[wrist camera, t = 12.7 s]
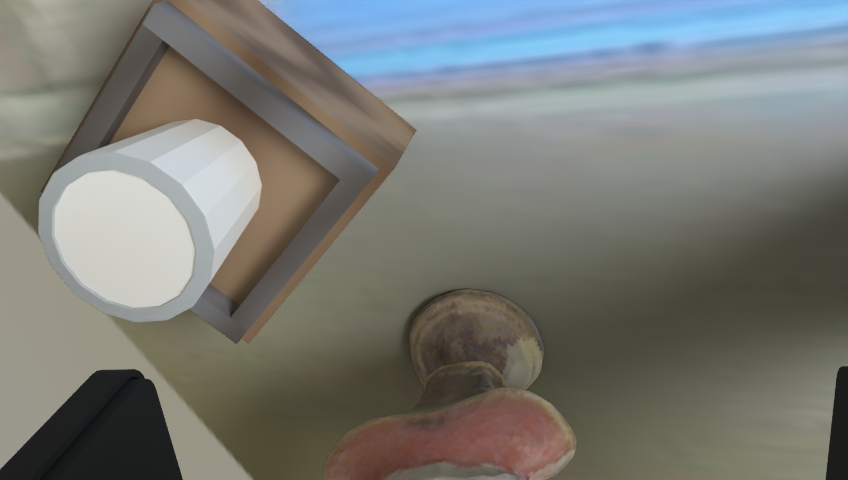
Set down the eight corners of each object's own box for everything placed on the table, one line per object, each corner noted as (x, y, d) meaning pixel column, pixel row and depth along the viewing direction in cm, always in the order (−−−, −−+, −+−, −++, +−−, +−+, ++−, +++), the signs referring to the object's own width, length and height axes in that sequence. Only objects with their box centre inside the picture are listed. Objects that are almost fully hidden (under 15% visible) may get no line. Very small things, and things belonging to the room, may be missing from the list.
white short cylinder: (171, 266, 36) (92, 342, 30) (102, 132, 34) (0, 184, 28) (299, 227, 35) (244, 300, 28) (234, 83, 32) (159, 127, 26)
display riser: (416, 130, 38) (389, 176, 32) (286, 288, 43) (239, 356, 37) (220, -30, 37) (149, -16, 30) (107, 153, 41) (24, 200, 35)
